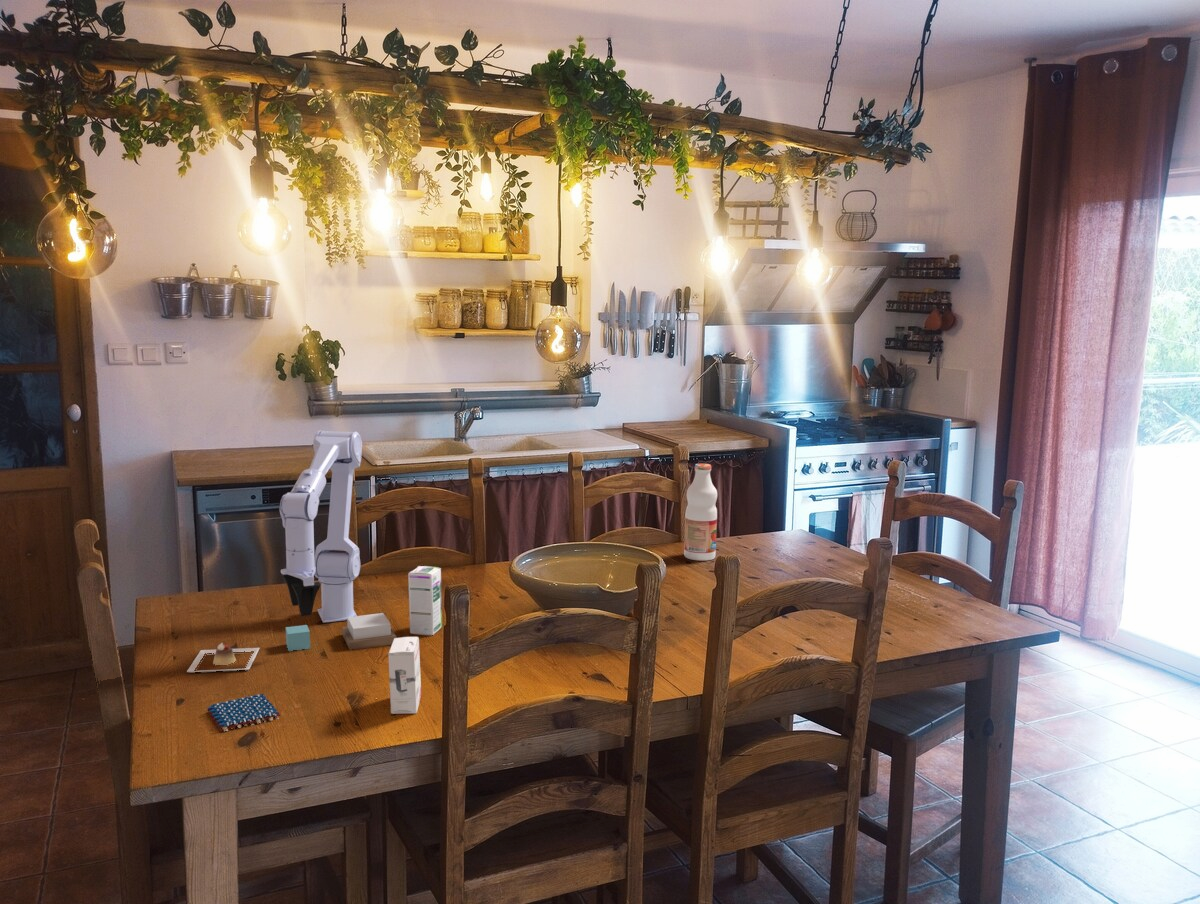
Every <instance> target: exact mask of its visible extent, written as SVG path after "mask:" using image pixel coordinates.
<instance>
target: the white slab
mask: <svg viewBox="0 0 1200 904" xmlns="http://www.w3.org/2000/svg"><path fill="white" fill-rule="evenodd" d="M346 622H347V623H346V624H347V626H348V630H349V632H350V634H351V635H352V637H353V639H354V640H357V639H364V638H372V637H380V636H387V635H391V629H392V627H391V626H392V624H391V622H390V621H389V619H388V618H387V617H386V615H385V614H384V612H380V613H372V614H364V615H357V616H354V617H347V620H346Z"/></svg>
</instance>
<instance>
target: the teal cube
mask: <svg viewBox="0 0 1200 904" xmlns="http://www.w3.org/2000/svg"><path fill="white" fill-rule="evenodd" d="M310 632H311V631H310V629H309V626H308V625H307V624H303V625H294V626H285V644H286V645H287V646H286V648H288V649H287V652H288V651H289V652H294V651H293V650H297V651H303V650H302V649H305V650H311V636H310V635H311V633H310Z"/></svg>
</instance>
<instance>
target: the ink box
mask: <svg viewBox="0 0 1200 904" xmlns="http://www.w3.org/2000/svg"><path fill="white" fill-rule="evenodd" d="M420 655H421V653H420V638H419V636H402V637H396V638H394V640H393V643H392V645H390V648H389V651H388V654H387V656H388V675H389V677H388V679H389V698H390V714H393V715H394V714H396V715H397V714H398V715H399V714H402V715H403V714H404V715H405V714H408V715H409V714H412V715H413V714H417V713H418V710H419V706H420V705H419V704H420V701H421V696H422V682H421V681H422V680H421V659H420V658H421V657H420Z"/></svg>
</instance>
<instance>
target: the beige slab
mask: <svg viewBox="0 0 1200 904" xmlns="http://www.w3.org/2000/svg"><path fill="white" fill-rule="evenodd" d="M341 631H342V637H343V639H344V642H345V643H346V645H347V647H348V650H350V651H352V649H354V650H360V649H368V648H377V647H385V646H392V643H393V640H394V638H397V635H396V634H395V632H394V630H393V629H392V628H391V635H387V636H380V637H372V638H364V639H357V640H354V639H353V637H352V635H351V634H350V632H349V630H348V625H347V626H342V630H341Z"/></svg>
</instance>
